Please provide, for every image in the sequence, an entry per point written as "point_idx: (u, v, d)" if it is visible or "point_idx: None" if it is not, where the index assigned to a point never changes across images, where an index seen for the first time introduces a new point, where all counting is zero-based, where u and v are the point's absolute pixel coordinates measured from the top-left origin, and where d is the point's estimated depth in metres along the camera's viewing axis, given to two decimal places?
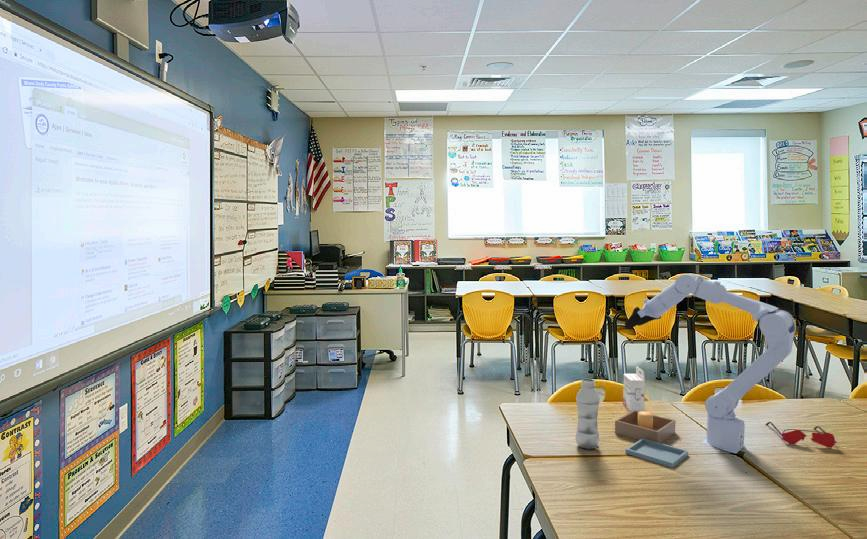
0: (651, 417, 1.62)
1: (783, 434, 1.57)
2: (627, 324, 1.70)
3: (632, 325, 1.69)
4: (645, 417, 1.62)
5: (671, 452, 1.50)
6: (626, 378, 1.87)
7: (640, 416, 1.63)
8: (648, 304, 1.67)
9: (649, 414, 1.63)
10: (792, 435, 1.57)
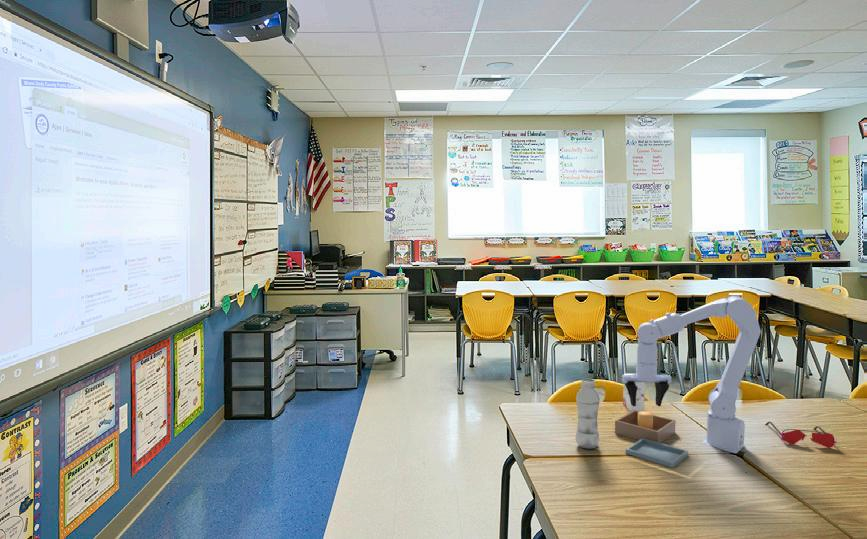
0: (651, 417, 1.62)
1: (783, 434, 1.57)
2: (631, 402, 1.64)
3: (632, 399, 1.63)
4: (645, 417, 1.62)
5: (671, 452, 1.50)
6: None
7: (640, 416, 1.63)
8: None
9: (649, 414, 1.63)
10: (792, 435, 1.57)
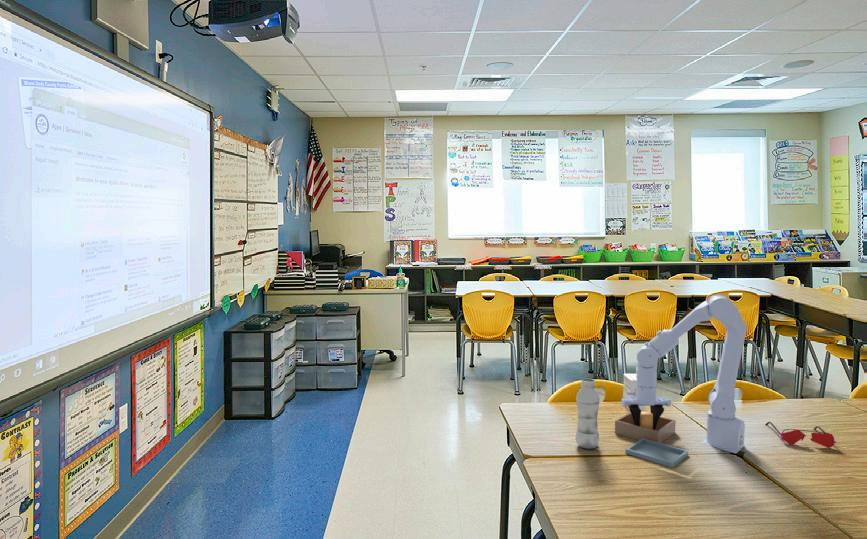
0: (651, 417, 1.62)
1: (782, 434, 1.57)
2: None
3: (636, 422, 1.63)
4: (645, 417, 1.62)
5: (671, 452, 1.50)
6: (626, 378, 1.87)
7: (640, 416, 1.63)
8: None
9: (649, 414, 1.63)
10: (792, 435, 1.57)
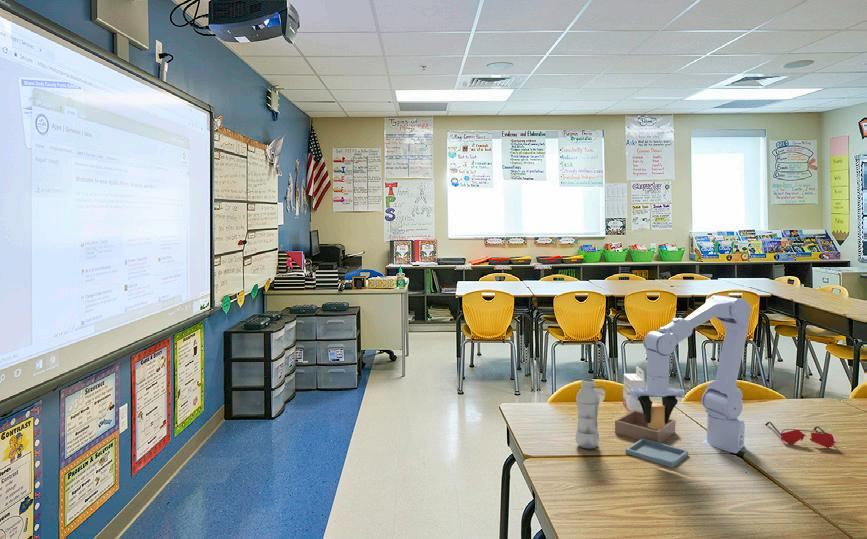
0: (663, 409, 1.47)
1: (782, 434, 1.58)
2: (645, 418, 1.50)
3: (646, 415, 1.48)
4: (656, 409, 1.47)
5: (671, 452, 1.50)
6: (626, 378, 1.87)
7: None
8: None
9: (660, 406, 1.49)
10: (791, 435, 1.57)
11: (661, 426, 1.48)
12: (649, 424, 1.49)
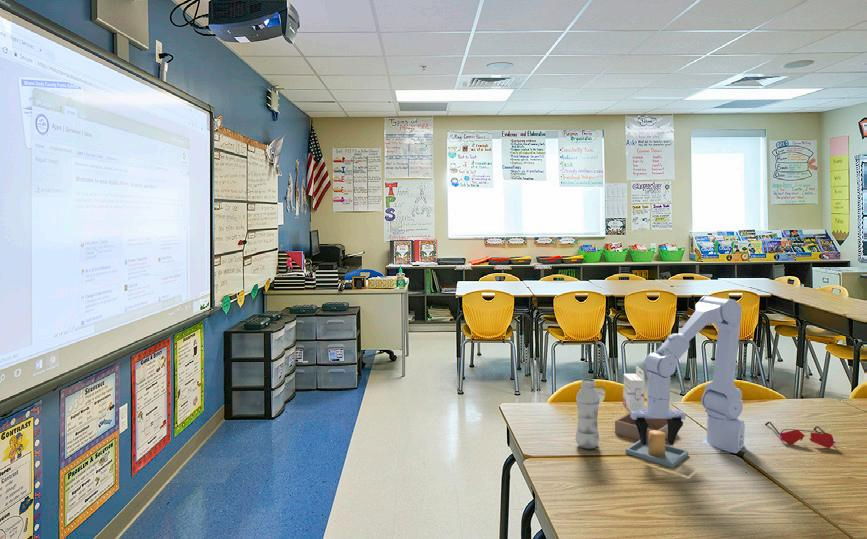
0: (663, 437, 1.47)
1: (781, 434, 1.58)
2: (641, 440, 1.49)
3: (642, 437, 1.48)
4: (657, 437, 1.47)
5: (671, 452, 1.50)
6: (626, 378, 1.87)
7: (651, 436, 1.48)
8: None
9: (661, 434, 1.48)
10: (791, 435, 1.57)
11: (662, 454, 1.47)
12: (650, 451, 1.48)
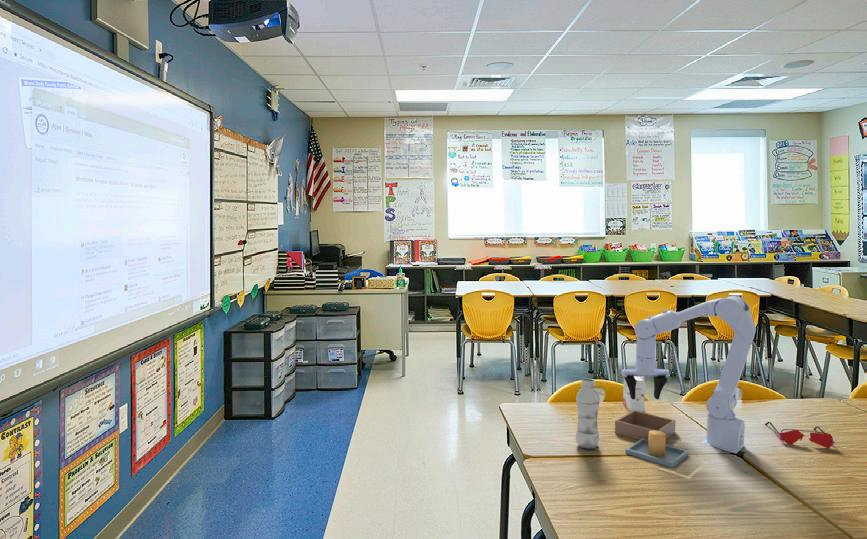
0: (663, 437, 1.47)
1: (781, 434, 1.58)
2: (631, 395, 1.70)
3: (632, 392, 1.69)
4: (657, 437, 1.47)
5: (671, 452, 1.50)
6: None
7: (651, 436, 1.48)
8: None
9: (661, 434, 1.48)
10: (790, 435, 1.57)
11: (662, 454, 1.47)
12: (650, 452, 1.48)
